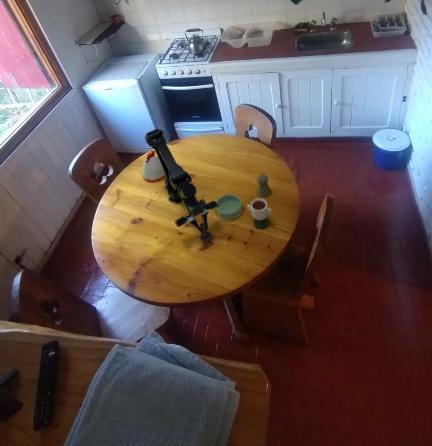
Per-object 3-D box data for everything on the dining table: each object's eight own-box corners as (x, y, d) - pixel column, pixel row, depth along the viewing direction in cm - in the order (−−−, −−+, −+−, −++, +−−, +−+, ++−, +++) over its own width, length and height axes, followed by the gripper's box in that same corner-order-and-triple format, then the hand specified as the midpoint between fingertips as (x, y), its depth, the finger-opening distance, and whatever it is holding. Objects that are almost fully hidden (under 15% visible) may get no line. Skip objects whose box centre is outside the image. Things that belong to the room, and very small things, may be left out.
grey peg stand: (198, 242, 150) (194, 227, 144) (204, 233, 153) (200, 218, 147) (208, 245, 148) (204, 231, 142) (214, 236, 151) (210, 222, 145)
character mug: (274, 219, 156) (273, 200, 148) (271, 232, 151) (269, 213, 143) (251, 215, 160) (248, 196, 152) (247, 227, 155) (244, 208, 147)
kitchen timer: (173, 169, 194) (166, 148, 185) (157, 185, 186) (149, 164, 177) (154, 162, 201) (147, 142, 192) (138, 178, 193) (130, 157, 184)
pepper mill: (256, 189, 172) (254, 173, 165) (268, 187, 172) (267, 171, 165) (259, 198, 167) (257, 182, 161) (271, 195, 167) (269, 179, 160)
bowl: (212, 216, 163) (210, 209, 161) (224, 197, 171) (222, 191, 168) (235, 223, 158) (234, 217, 155) (246, 204, 166) (245, 198, 163)
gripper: (170, 208, 136) (188, 244, 135) (212, 187, 142) (229, 221, 141) (168, 209, 147) (184, 242, 146) (206, 189, 153) (222, 221, 151)
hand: (205, 232), depth 146 cm, fingers closed on grey peg stand, 2 cm apart
